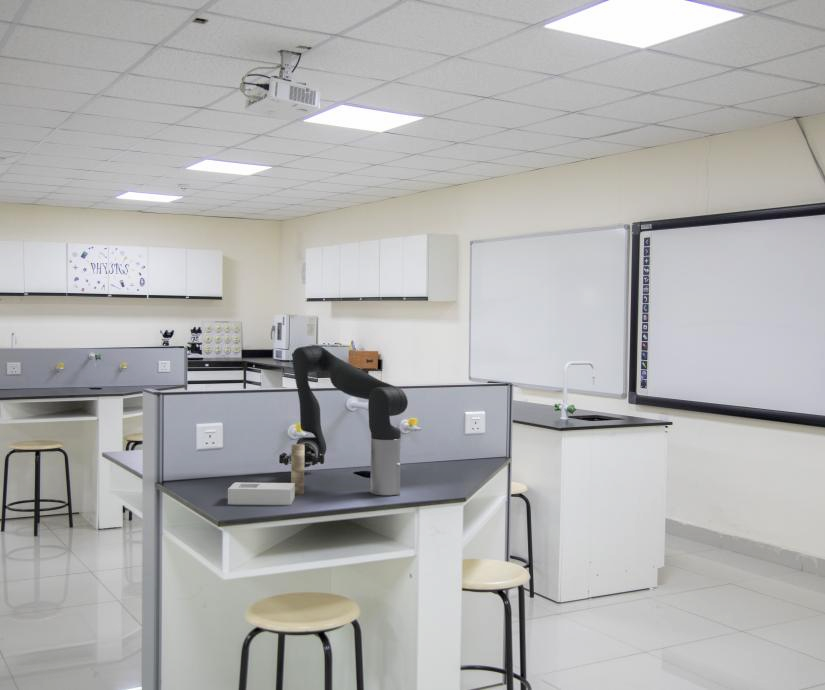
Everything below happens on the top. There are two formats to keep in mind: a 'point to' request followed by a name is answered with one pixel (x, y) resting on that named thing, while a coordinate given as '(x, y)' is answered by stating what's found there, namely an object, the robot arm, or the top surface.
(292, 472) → the birch peg
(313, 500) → the top surface
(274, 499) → the hole block
